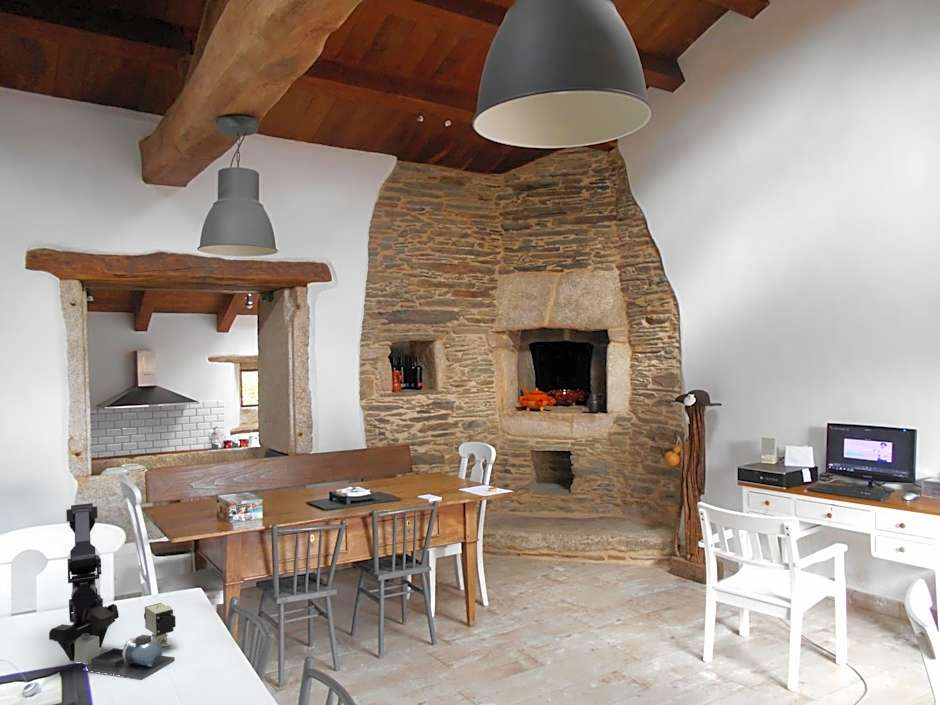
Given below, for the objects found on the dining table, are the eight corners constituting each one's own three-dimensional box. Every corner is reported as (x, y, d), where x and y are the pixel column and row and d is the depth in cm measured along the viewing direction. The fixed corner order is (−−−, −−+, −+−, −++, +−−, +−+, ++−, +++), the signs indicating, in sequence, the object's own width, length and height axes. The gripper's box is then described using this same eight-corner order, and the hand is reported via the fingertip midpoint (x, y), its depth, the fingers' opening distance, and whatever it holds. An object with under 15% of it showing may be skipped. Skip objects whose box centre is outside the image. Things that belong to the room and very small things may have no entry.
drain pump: (72, 662, 203) (71, 636, 203) (85, 656, 207) (85, 630, 207) (86, 664, 201) (85, 638, 201) (99, 657, 205) (98, 632, 205)
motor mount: (82, 671, 197) (81, 639, 197) (117, 653, 208) (116, 623, 208) (141, 679, 190) (140, 647, 190) (174, 660, 201) (173, 630, 201)
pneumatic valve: (159, 653, 207) (158, 611, 207) (144, 642, 215) (142, 602, 215) (179, 647, 211) (177, 606, 211) (163, 637, 219) (161, 597, 219)
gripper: (78, 612, 193) (80, 671, 193) (132, 589, 210) (134, 644, 210) (46, 608, 196) (48, 666, 196) (102, 586, 214) (104, 640, 214)
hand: (86, 654), depth 204 cm, fingers open, 9 cm apart
